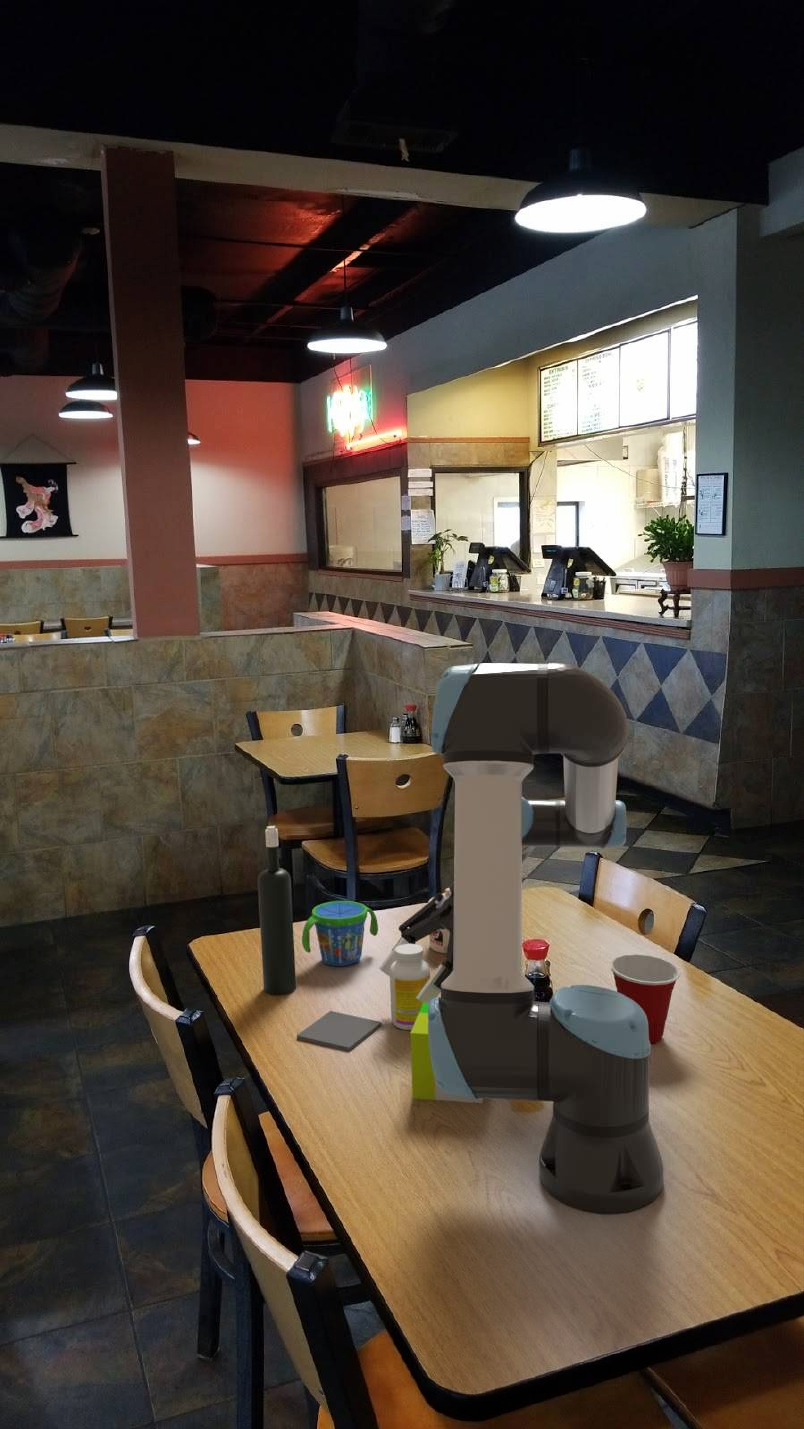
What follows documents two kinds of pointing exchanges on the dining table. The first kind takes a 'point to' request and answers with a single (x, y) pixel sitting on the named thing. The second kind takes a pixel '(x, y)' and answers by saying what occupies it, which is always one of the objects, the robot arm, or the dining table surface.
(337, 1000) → the dining table surface
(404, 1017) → the supplement bottle
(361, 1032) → the coaster
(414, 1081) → the puzzle toy
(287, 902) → the wine bottle
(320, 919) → the snack cup
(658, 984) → the plastic cup
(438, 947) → the teacup with lid
